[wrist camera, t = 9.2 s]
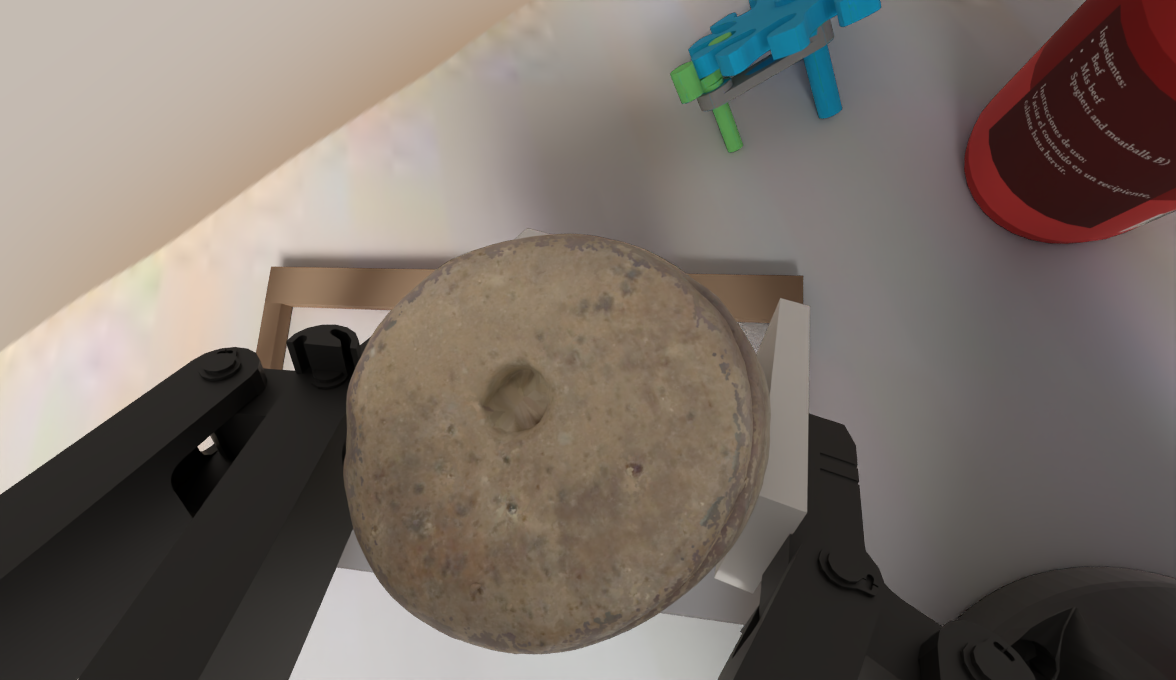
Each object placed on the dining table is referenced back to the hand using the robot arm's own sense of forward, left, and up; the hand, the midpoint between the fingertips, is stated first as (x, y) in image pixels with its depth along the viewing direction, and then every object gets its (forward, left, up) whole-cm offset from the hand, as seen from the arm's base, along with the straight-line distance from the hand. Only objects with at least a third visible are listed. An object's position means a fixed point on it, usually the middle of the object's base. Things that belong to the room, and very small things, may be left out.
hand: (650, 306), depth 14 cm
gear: (-5, -14, -10) cm, 18 cm away
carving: (+1, +3, -4) cm, 6 cm away
